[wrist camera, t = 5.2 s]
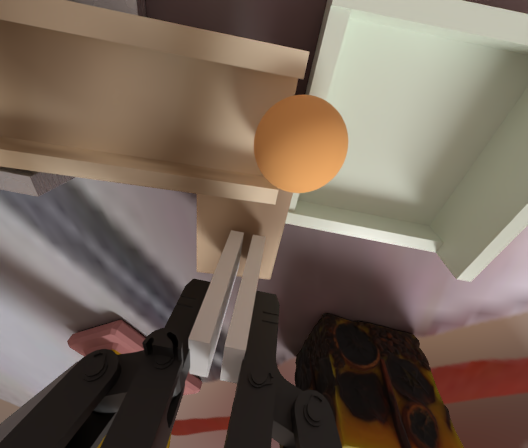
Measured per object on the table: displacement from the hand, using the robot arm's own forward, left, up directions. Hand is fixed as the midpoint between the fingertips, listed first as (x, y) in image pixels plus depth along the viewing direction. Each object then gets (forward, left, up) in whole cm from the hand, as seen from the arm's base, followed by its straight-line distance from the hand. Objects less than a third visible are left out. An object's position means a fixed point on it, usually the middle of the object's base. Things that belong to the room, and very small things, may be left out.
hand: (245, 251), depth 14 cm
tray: (+7, +7, -4) cm, 11 cm away
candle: (+13, -15, -5) cm, 20 cm away
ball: (+2, +7, +1) cm, 7 cm away
